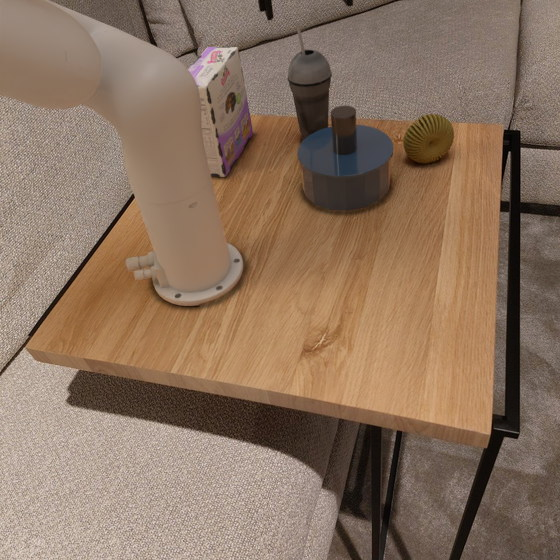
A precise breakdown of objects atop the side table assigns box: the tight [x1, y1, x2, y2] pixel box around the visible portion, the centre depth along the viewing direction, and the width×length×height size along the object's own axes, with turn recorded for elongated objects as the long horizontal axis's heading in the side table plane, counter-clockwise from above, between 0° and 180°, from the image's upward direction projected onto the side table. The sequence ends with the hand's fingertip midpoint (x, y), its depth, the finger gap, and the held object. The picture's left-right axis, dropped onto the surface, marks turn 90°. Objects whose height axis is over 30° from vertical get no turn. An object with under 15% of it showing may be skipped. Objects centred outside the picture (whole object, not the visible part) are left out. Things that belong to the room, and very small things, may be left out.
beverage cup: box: [287, 22, 333, 142], centre depth 97 cm, size 7×7×20 cm
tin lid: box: [297, 105, 395, 179], centre depth 86 cm, size 14×14×7 cm
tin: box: [299, 158, 392, 212], centre depth 90 cm, size 13×13×6 cm
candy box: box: [187, 46, 254, 178], centre depth 97 cm, size 14×6×16 cm, turn 162°
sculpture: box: [402, 113, 455, 164], centre depth 92 cm, size 8×4×8 cm, turn 101°
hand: (308, 9), depth 71 cm, fingers open, 9 cm apart
